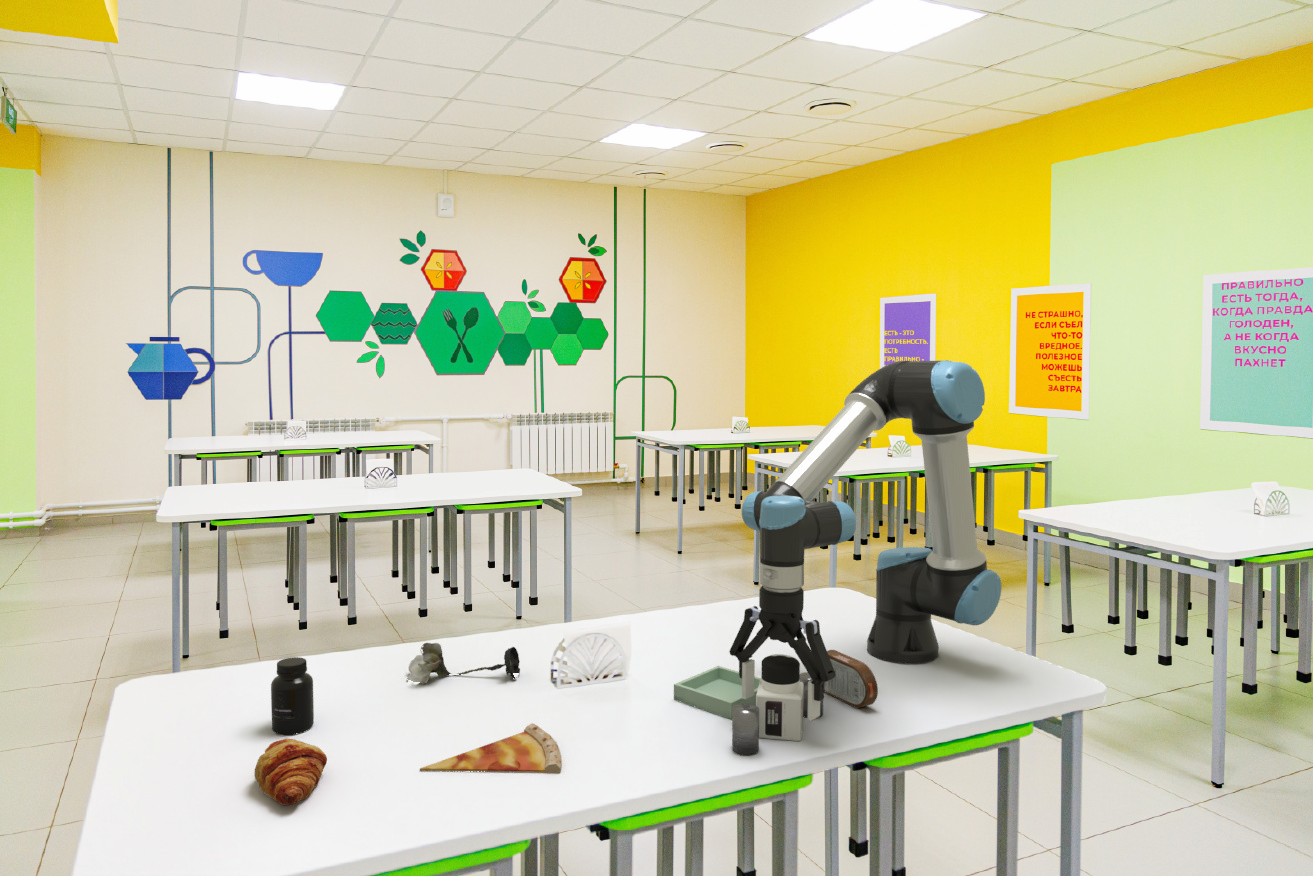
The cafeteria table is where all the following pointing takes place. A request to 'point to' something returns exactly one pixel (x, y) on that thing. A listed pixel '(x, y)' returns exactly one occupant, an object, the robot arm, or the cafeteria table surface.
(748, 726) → the post
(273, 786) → the croissant
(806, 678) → the post
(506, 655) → the artificial flower
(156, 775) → the cafeteria table surface
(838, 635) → the cafeteria table surface
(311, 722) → the supplement bottle
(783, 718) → the container
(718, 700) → the tray
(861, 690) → the tin
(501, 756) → the pizza slice
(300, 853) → the cafeteria table surface
